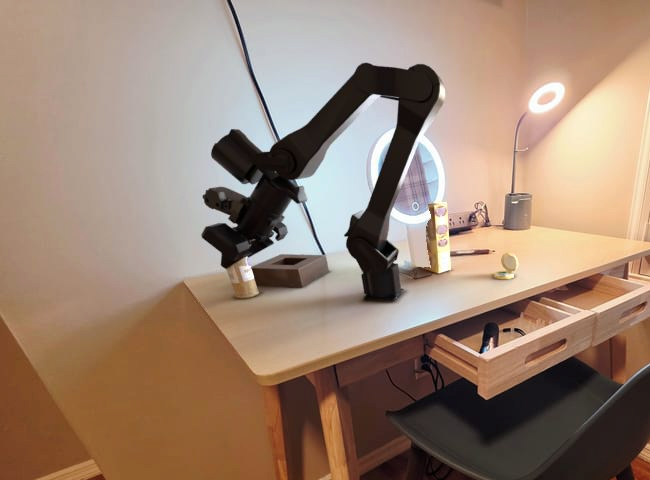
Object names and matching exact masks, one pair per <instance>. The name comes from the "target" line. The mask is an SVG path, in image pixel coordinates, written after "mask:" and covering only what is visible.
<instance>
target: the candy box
mask: <svg viewBox="0 0 650 480" xmlns="http://www.w3.org/2000/svg"><path fill="white" fill-rule="evenodd" d="M438 202H439V203H431V204H428V207H429V211H430V214H431V219H430V220H429V221H428V223H427V226H426V242H427V250H428V255H429V261H430V265H431V268H430V267H424V268H422V269H423V270H426V271H430V272H433V273H436V274H442V273H444V272H447V271H451V252H450V233H449V216H448V215H449V214H448V213H449V212H448V202H445V201H438Z"/></svg>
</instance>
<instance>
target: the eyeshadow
mask: <svg viewBox="0 0 650 480" xmlns="http://www.w3.org/2000/svg"><path fill="white" fill-rule="evenodd" d="M500 263H501V265H502V268H503V269H504V270H497V271H495V272H494V274H493V276H494V278H495V279H498V280H510V279H512V278H515V277H514V276H515V275H514V272H515V271H516V270H517V269H518V267H519V260H518V258H517V256H516V255H515V254H514V253H512V252H505V253H504V254H502V256H501V258H500Z"/></svg>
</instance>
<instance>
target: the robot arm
mask: <svg viewBox="0 0 650 480" xmlns="http://www.w3.org/2000/svg"><path fill="white" fill-rule="evenodd" d="M378 98H381V99H382V98H383V99H388V100H393V101H397V116H396V126H395V128H394V132H393V135H392V136H391V140H390V143H389V146H388V148H387V151H386V154H385V157H384V160H383V163H382V165H381V168H380V171H379V173H378V176H377V179H376V182H375V184H374V186H373V189H372V193H371V196H370V198H369V201H368V204H367V207H366V208H365V210H364V209H361V210H359V211H358V212H355V213H352V214H351V216H350V219H349V225H348V229H347V231H346V232H345V233H344V234H343V236H344V238H346V237H347V238H346V241H345V247H346V249H347V251H348V253H349V255H350V256H351V257H352V258H353V259H354V260H355V261H356V263H357V264H358V267H359V268H360V270H361V272H362V273H361V275H360V276H361V277H360V278H361V283H362V290H363V294H364V296H363V297H362V299H363V301H373V302H395V301H396V300H397V299H398V298H399V297H400V296H401V295H402V294H403V293H404V292H405V289H404V288H402V285H401V277H400V269H399V263H395V261H397V260H398V256H399V252H400V250H399V249H398V248H397V247H396V246H395V245H394V244H393V243H392V242H390V241H389V240H388V235H389V231H390V218H391V213H392V211H393V208H394V206H395V203H396V201H397V198H398V196H399V194H400V191H401V188H402V186H403V183H404V181H405V179H406V176H407V173H408V171H409V168H410V166H411V163H412V160H413V158H414V156H415V153H416V151H417V148H418V146H419V143H420V141H421V139H422V137H423V136H424V134H425V133H426V132H427V130H428V129H429V127H430V126H431V124H432V123H433V122H434V120H435V119H436V117H437V115H438V113H439V112H440V111H441V108H443V105H444V103H445V99H446V88H445V84H444V82H443V80H442V79H441V77H440V76H439V75H438V74H437V72H436V71H435V70H434V69H433V68H432V67H431V66H429V65H427V64H424V63H417V64H414V65H411V66H409V67H408V69H406V68H402V67H395V66H386V65H385V66H384V65H374V64H373V63H370V62H362V63H360V64H358V65H357V67H356V68H355V71H354V73H353V74H352V75H351V76H350V77H349V78H348V79H347V80H346V81H345V82H344V83H343V85H341V87H339V89H337V91H336V92H335V93H334V94H333V95H332V96H331V98H330V99H328V101H327V102H326V103H325V104H324V105H323V106H322V107H321V108H320V109H319V110H318V112H317V113H315V115H314V116H313V117H312V118H311V119H310V120H309V121H308V122H307V123H306V124H305V125H303V126H302V127H300V128H298V129H296V130H294V131H292V132H290V133H288V134H287V135H285V136H283V137H282V138H281V139H279V140H277V141H276V142H275V143H274V144H273V145H272V146H271V147H270V149H269V151H262V150H261V149H260V148H259V147H258V146H257V145H256V144H254V142H252V141H251V140H250V138H249V137H248V136H247V135H246V134H245V133H244V132H243V131H242V130H240V129H237V128H231V129H230V130H229V132H228V133H227V134H226V135H224V136H222V137H221V138H220V139H219V140H218V141H217V142H214V144H213V146H212V148H211V152H210V157H211V159H212V160H214V161H215V162H216V163H217V164H218V165H219V166H221V167H222V168H223V169H224V170H225V171H227V172H228V173H229V174H230V175H231V176H232V177H233V178H234V179H236V180H237V181H238V182H239V183H240V184H242V185H248V184H250V185H255V187H254V189H253V190H252V192H251V194H250V196H246V195H244V194H242V193H239V192H237V191H236V190H232V189H231V188H228V187H226V186H215V187H208V189H206V190H205V192H204V194H202V199H203V203H204V205H206V206H207V208H209V209H211V210H215V211H218V212H221V213H223V214H224V215H228V216H229V217H228V218H227V220H228V221H230V222H231V223H232V224H236V226H230V225H228V224H227V223H226V222H218V223H215V224H209V225H208V226H207V225H206V226H204V229H203V231H202V232H201V234H200V237H201V238H202V240H204V242H205V241H206V242H207V243H208V244H209V245H210V246H211V247H213V248H214V249H216V250H217V251H218V252H219V253H220V254H221V253H222V255H221V256H220V266H221V268H223V269H225V270H226V269H227V268H229V267H230V266H232V265H234V264H235V263H237V262H239V261H240V260H242V259H244V258H245V257H248V259H249V258H251V257H253V256H255V255H256V254H259V253H260V252H261V251H264V250H265V249H267V248H269V247H271V246H273V245H274V244H275V242H274V240H276V242H280V241H282V240H284V239H285V237H286V236H287V234H289V231H288V227H287V225H286V224H285V223H284V222H283V221H284V220H285V217H286V216H284V213H285V212H286V210H287V208H288V207H289V206H290V204H291V202H292V201H293V202H294V203H295V204H297V205H299V204H302V203H306V202H308V197H307V194H306V192H305V191H306V190H305V186H304V185H297V184H295V183H294V182H293V181H296V180H302V179H307V178H311V177H312V176H314V175H315V174H316V172H317V171H318V169H319V167H320V166H321V164H322V163H323V161H324V159H325V157H326V154H327V151H328V150H329V148H330V146H331V145H332V144H333V143H334V142H335V141H336V140H337V139H338V138H339V137H340V136H341V135H342V134H343V133H344V132H345V131H346V130H347V129H348V128H349V127H350V126H351V125H352V124H353V123H354V122H355V121H356V120H357V119H358V118H359V117H360V116H361V115H362V114H363V113H364V112H365V111H366V110H367V109H368V107H370V106H371V105H372V104H373V102H374V101H376V100H377V99H378ZM231 227H233V228H231ZM275 233H276V235H275ZM274 235H275V238H274V240H273V239H271V238H273V236H274Z"/></svg>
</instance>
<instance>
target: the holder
mask: <svg viewBox="0 0 650 480" xmlns="http://www.w3.org/2000/svg"><path fill="white" fill-rule="evenodd" d="M251 269H252V272H253V275H254V280H255V283H256V286H257V287H279V288H280V287H282V288H283V287H284V288H304V287H306V286H307V285H309V284H311V283H312V282H314V281H316V280H318V279H319V278H321V277H322V276H324V275H326V274H328V273H329V272H330V268H329V264H328V259H327V255H326V254H292V253H291V254H290V253H289V254H287V253H282V254H281V253H280V254H278V255H275V256H273V257H271V258H269V259H266V260H264V261H261V262H259V263H257V264H254V265H252V266H251Z"/></svg>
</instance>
